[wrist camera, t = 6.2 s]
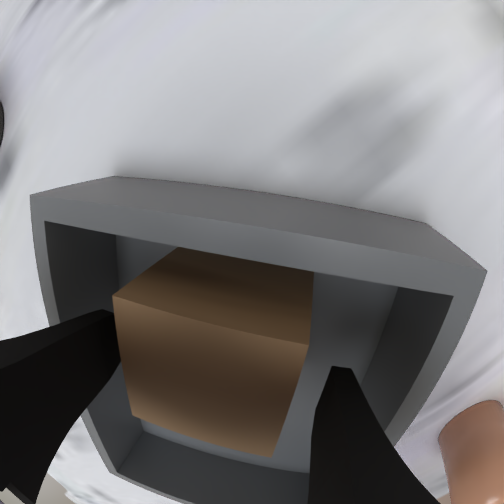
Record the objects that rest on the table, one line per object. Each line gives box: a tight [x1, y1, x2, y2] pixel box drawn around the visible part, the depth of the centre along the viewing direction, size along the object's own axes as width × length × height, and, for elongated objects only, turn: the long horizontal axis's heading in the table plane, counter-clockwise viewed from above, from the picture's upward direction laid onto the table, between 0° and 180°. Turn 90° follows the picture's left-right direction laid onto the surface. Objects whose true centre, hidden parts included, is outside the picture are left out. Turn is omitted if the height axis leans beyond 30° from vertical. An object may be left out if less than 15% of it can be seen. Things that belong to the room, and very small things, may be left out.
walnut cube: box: [112, 247, 314, 458], centre depth 10 cm, size 5×5×5 cm
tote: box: [30, 176, 487, 504], centre depth 12 cm, size 18×14×5 cm
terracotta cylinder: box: [438, 400, 504, 504], centre depth 10 cm, size 5×5×7 cm
